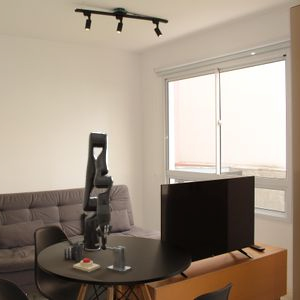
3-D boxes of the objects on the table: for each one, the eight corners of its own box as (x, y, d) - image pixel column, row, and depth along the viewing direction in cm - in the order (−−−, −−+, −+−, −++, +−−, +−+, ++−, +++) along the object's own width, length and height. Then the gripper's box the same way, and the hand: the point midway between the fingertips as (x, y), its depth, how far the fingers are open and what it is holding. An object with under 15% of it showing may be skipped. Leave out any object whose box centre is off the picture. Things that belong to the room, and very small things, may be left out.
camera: (65, 255, 229) (64, 239, 229) (83, 255, 229) (83, 239, 229) (64, 263, 215) (64, 245, 215) (83, 263, 215) (83, 245, 215)
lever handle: (99, 250, 209) (99, 244, 209) (103, 248, 211) (103, 243, 211) (119, 255, 201) (119, 249, 200) (122, 253, 203) (123, 247, 203)
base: (107, 269, 203) (106, 247, 203) (115, 266, 209) (115, 244, 209) (122, 273, 196) (122, 250, 196) (131, 269, 202) (131, 247, 202)
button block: (73, 269, 205) (73, 261, 204) (84, 265, 211) (84, 257, 211) (89, 273, 197) (89, 265, 197) (100, 269, 204) (99, 261, 204)
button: (81, 262, 204) (81, 259, 204) (86, 260, 207) (86, 257, 207) (86, 263, 202) (86, 260, 202) (91, 262, 204) (91, 258, 204)
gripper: (105, 210, 216) (105, 240, 217) (90, 213, 206) (91, 245, 207) (116, 211, 212) (116, 242, 212) (101, 214, 202) (102, 247, 202)
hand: (104, 244), depth 209 cm, fingers closed
